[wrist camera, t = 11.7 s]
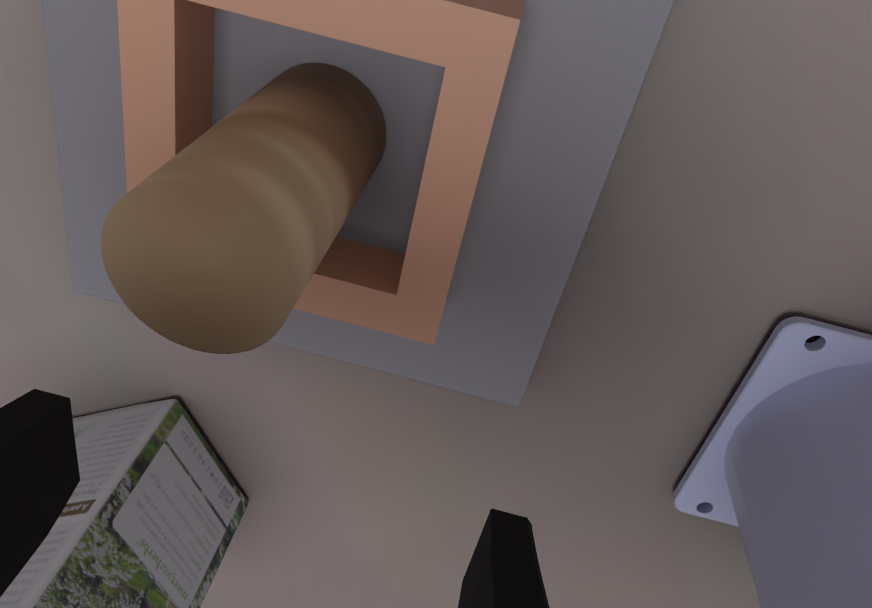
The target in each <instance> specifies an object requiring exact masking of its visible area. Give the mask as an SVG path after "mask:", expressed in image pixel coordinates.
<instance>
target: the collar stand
mask: <svg viewBox="0 0 872 608" xmlns="http://www.w3.org/2000/svg"><path fill="white" fill-rule="evenodd" d="M673 3H674V0H42V8H43V17H44V27H45V36H46V45H47V54H48V63H49V72H50V81H51V90H52V99H53V108H54V118H55V127H56V136H57V145H58V154H59V163H60V172H61V181H62V190H63V200H64V209H65V218H66V227H67V236H68V245H69V254H70V263H71V272H72V282H73V291H75V292H79V293H83V294H87V295H91V296H94V297H98V298H102V299H106V300H110V301H114V302H117V303H121V304H125V303H124V302H123V301H122V299H121V298H120V297H119V295H118V294H117V292H116V291H115V289H114V287H113V285H112V283H111V282H110V279H109V277H108V275H107V272H106V270H105V266H104V263H103V259H102V252H101V234H102V228H103V225H104V222H105V219H106V217H107V215H108V213H109V211H110V210H111V208H112V207H113V206H114V204H115V203H116V202H117V201H118V200H119V199H120V198H122V197H123V196H124V195H125V194H127V193H128V192H129V191H130V190H132V189H133V188H134V187H136V186H137V185H138V184H139V183H141V182H142V181H143V180H145V179H146V178H147V177H148V176H150V175H151V174H152V173H154V172H155V171H156V170H157V169H159V168H160V167H161V166H163V165H164V164H165V163H166V162H168V161H169V160H170V159H172V158H173V157H174V156H175V155H177V154H178V153H179V152H181V151H182V150H183V149H184V148H186V147H187V146H188V145H190V144H191V143H192V142H193V141H195V140H196V139H197V138H199V137H200V136H201V135H202V134H204V133H205V132H206V131H208V130H209V129H210V128H211V127H213V126H214V125H215V124H217V123H218V122H219V121H220V120H222V119H223V118H224V117H226V116H227V115H228V114H229V113H231V112H232V111H233V110H234V109H236V108H237V107H238V106H240V105H241V104H242V103H243V102H245V101H246V100H247V99H249V98H250V97H251V96H252V95H254V94H255V93H256V92H258V91H259V90H260V89H261V88H263V87H264V86H265V85H267V84H268V83H269V82H270V81H272V80H273V79H274V78H276V77H277V76H278V75H279V74H281V73H282V72H283V71H285V70H287V69H289V68H291V67H293V66H296V65H299V64H304V63H324V64H329V65H333V66H336V67H339V68H341V69H343V70H345V71H347V72H349V73H350V74H352V75H353V76H355V77H356V78H357V79H359V80H360V81H361V82H362V83H363V84H364V85H365V86H366V87H367V88H368V89H369V90H370V92H371V93H372V94H373V96H374V97H375V99H376V100H377V102H378V104H379V106H380V108H381V111H382V113H383V116H384V120H385V125H386V146H385V151H384V154H383V157H382V159H381V161H380V163H379V165H378V167H377V168H376V170H375V172H374V173H373V175H372V177H371V178H370V180H369V182H368V183H367V185H366V187H365V189H364V190H363V192H362V194H361V195H360V197H359V199H358V200H357V202H356V204H355V205H354V207H353V209H352V210H351V212H350V214H349V215H348V217H347V219H346V220H345V222H344V224H343V225H342V227H341V229H340V230H339V232H338V234H337V236H336V237H335V239H334V241H333V242H332V244H331V246H330V247H329V249H328V251H327V252H326V254H325V256H324V257H323V259H322V261H321V262H320V264H319V266H318V267H317V269H316V271H315V272H314V274H313V276H312V277H311V279H310V281H309V283H308V284H307V286H306V288H305V289H304V291H303V293H302V294H301V296H300V298H299V299H298V301H297V303H296V304H295V306H294V308H293V309H292V311H291V313H290V314H289V316H288V318H287V319H286V321H285V323H284V324H283V326H282V328H281V329H280V330H279V331H278V332H277V334H276V335H275V336H274V337H272V338H271V339H270V340H269V341H267V342H271V343H274V344H278V345H282V346H286V347H290V348H294V349H297V350H301V351H305V352H309V353H313V354H317V355H320V356H324V357H328V358H332V359H336V360H340V361H343V362H347V363H351V364H355V365H359V366H362V367H366V368H370V369H374V370H378V371H382V372H385V373H389V374H393V375H397V376H401V377H405V378H408V379H412V380H416V381H420V382H424V383H428V384H431V385H435V386H439V387H443V388H447V389H451V390H454V391H458V392H462V393H466V394H470V395H474V396H477V397H481V398H485V399H489V400H493V401H497V402H500V403H504V404H508V405H512V406H516V407H519V406H520V403H521V400H522V398H523V395H524V393H525V390H526V387H527V385H528V382H529V380H530V377H531V374H532V372H533V369H534V366H535V364H536V361H537V359H538V356H539V353H540V351H541V348H542V346H543V343H544V340H545V338H546V335H547V332H548V330H549V327H550V325H551V322H552V319H553V317H554V314H555V312H556V309H557V306H558V304H559V301H560V298H561V296H562V293H563V291H564V288H565V285H566V283H567V280H568V277H569V275H570V272H571V270H572V267H573V264H574V262H575V259H576V257H577V254H578V251H579V249H580V246H581V243H582V241H583V238H584V236H585V233H586V230H587V228H588V225H589V223H590V220H591V217H592V215H593V212H594V209H595V207H596V204H597V202H598V199H599V196H600V194H601V191H602V189H603V186H604V183H605V181H606V178H607V175H608V173H609V170H610V168H611V165H612V162H613V160H614V157H615V155H616V152H617V149H618V147H619V144H620V141H621V139H622V136H623V134H624V131H625V128H626V126H627V123H628V121H629V118H630V115H631V113H632V110H633V107H634V105H635V102H636V100H637V97H638V94H639V92H640V89H641V87H642V84H643V81H644V79H645V76H646V73H647V71H648V68H649V66H650V63H651V60H652V58H653V55H654V53H655V50H656V47H657V45H658V42H659V39H660V37H661V34H662V32H663V29H664V26H665V24H666V21H667V19H668V16H669V13H670V11H671V8H672V5H673ZM125 305H126V304H125Z"/></svg>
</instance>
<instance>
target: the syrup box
mask: <svg viewBox="0 0 872 608" xmlns="http://www.w3.org/2000/svg"><path fill="white" fill-rule="evenodd" d="M73 427H74V435H75V443H76V451H77V459H78V466H79V474H80V481H79V483H78V485H77V487H76V488H75V490H74V492H73V494H72V495H71V497H70V499H69V501H68V502H67V504H66V506H65V507H64V509H63V511H62V513H61V514H60V516H59V517H58V519H57V521H56V522H55V524H54V526H53V527H52V529H51V530H50V532H49V534H48V535H47V537H46V538H45V539H44V541H43V542H42V543H41V545H40V546H39V548H38V549H37V550H36V552H35V553H34V554H33V555H32V557H31V558H30V559H29V561H28V562H27V563H26V565H25V566H24V567H23V569H22V570H21V571H20V573H19V574H18V575H17V576H16V578H15V579H14V580H13V582H12V583H11V584H10V586H9V587H8V588H7V589H6V591H5V592H4V593H3V595H2V596H1V597H0V608H200V606H201V604H202V602H203V600H204V598H205V596H206V594H207V591H208V589H209V587H210V585H211V583H212V581H213V579H214V577H215V575H216V572H217V570H218V568H219V565H220V563H221V561H222V559H223V557H224V555H225V552H226V550H227V548H228V545H229V543H230V541H231V540H232V537H233V535H234V534H235V531H236V529H237V527H238V525H239V523H240V521H241V518H242V516H243V514H244V512H245V510H246V507H247V505H248V502H247V500H246V499H245V497H244V496H243V494H242V493H241V491H240V490H239V488H238V487H237V485H236V484H235V483H234V481H233V480H232V478H231V477H230V475H229V474H228V472H227V471H226V470H225V468H224V467H223V465H222V464H221V462H220V461H219V459H218V458H217V456H216V455H215V454H214V452H213V450H212V449H211V447H210V446H209V444H208V443H207V442H206V440H205V439H204V437H203V436H202V435H201V433H200V432H199V430H198V428H197V427H196V425H195V424H194V422H193V421H192V419H191V418H190V416H189V415H188V413H187V412H186V411H185V409H184V408H183V406H182V405H181V404H180V402H179V401H178V400H177V399H168V400H162V401H155V402H150V403H144V404H138V405H133V406H129V407H124V408H119V409H115V410H110V411H105V412H100V413H96V414H91V415H87V416H82V417H77V418H73Z"/></svg>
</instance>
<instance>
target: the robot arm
mask: <svg viewBox="0 0 872 608" xmlns="http://www.w3.org/2000/svg"><path fill="white" fill-rule="evenodd" d="M812 336H820V338H819V339H818V340H817V341H814V342H812V343H805V341H806V340H807V339H808V338H809V337H812ZM79 481H80V474H79V466H78V459H77V451H76V443H75V435H74V427H73V419H72V411H71V404H70V398H67V397H64V396H60V395H56V394H52V393H48V392H44V391H41V390H37V389H33V390H32V391H30V392H28V393H26V394H24V395H23V396H21V397H19V398H17V399H16V400H14V401H12V402H10V403H8V404H7V405H5V406H3V407H2V408H0V597H1V596H2V595H3V593H4V592H5V591H6V589H7V588H8V587H9V586H10V584H11V583H12V582H13V580H14V579H15V578H16V576H17V575H18V574H19V573H20V571H21V570H22V569H23V567H24V566H25V565H26V563H27V562H28V561H29V559H30V558H31V557H32V555H33V554H34V553H35V552H36V550H37V549H38V548H39V546H40V545H41V543H42V542H43V541H44V539H45V538H46V537H47V535H48V534H49V532H50V530H51V529H52V527H53V526H54V524H55V522H56V521H57V519H58V517H59V516H60V514H61V513H62V511H63V509H64V507H65V506H66V504H67V502H68V501H69V499H70V497H71V495H72V494H73V492H74V490H75V488H76V487H77V485H78V483H79ZM673 501H674V505H675V507H676V508H677V509H678V510H679V511H681V512H684V513H688V514H691V515H695V516H699V517H703V518H707V519H711V520H714V521H718V522H722V523H726V524H730V525H734V526H737V527H739V529H740V533H741V536H742V540H743V543H744V547H745V551H746V554H747V558H748V561H749V565H750V569H751V572H752V576H753V580H754V583H755V587H756V590H757V594H758V598H759V601H760V605H761V608H872V335H870V334H866V333H862V332H858V331H854V330H850V329H847V328H843V327H839V326H835V325H831V324H827V323H824V322H820V321H816V320H812V319H808V318H804V317H796V316H795V317H790V318H786V319H785V320H783V321H781V322H780V323H779V324H778V325H777V326H776V327H775V329H774V331H773V332H772V334H771V335H770V337H769V339H768V340H767V342H766V344H765V345H764V347H763V348H762V350H761V352H760V353H759V355H758V356H757V358H756V360H755V361H754V363H753V365H752V366H751V368H750V369H749V371H748V373H747V374H746V376H745V378H744V379H743V381H742V382H741V384H740V386H739V387H738V389H737V390H736V392H735V394H734V395H733V397H732V399H731V400H730V402H729V403H728V405H727V407H726V408H725V410H724V411H723V413H722V415H721V416H720V418H719V420H718V421H717V423H716V424H715V426H714V428H713V429H712V431H711V433H710V434H709V436H708V437H707V439H706V441H705V442H704V444H703V445H702V447H701V449H700V450H699V452H698V454H697V455H696V457H695V458H694V460H693V462H692V463H691V465H690V467H689V468H688V470H687V471H686V473H685V475H684V476H683V478H682V479H681V481H680V483H679V484H678V486H677V488H676V489H675V491H674V493H673ZM703 502H707V503H705V504H700V503H703ZM458 608H549V604H548V600H547V596H546V592H545V588H544V584H543V580H542V576H541V572H540V567H539V563H538V558H537V553H536V548H535V543H534V537H533V531H532V525H531V523H530V521H529V520H528V518H526V517H522V516H518V515H514V514H510V513H507V512H503V511H499V510H495V509H491V510H490V513H489V516H488V518H487V521H486V523H485V526H484V528H483V531H482V533H481V536H480V538H479V541H478V543H477V546H476V548H475V551H474V553H473V556H472V558H471V561H470V563H469V566H468V568H467V571H466V574H465V576H464V579H463V582H462V588H461V593H460V599H459V605H458Z"/></svg>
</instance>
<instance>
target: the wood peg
mask: <svg viewBox="0 0 872 608" xmlns="http://www.w3.org/2000/svg"><path fill="white" fill-rule="evenodd" d="M385 146H386V125H385V120H384V116H383V113H382V111H381V108H380V106H379V104H378V102H377V100H376V99H375V97H374V96H373V94H372V93H371V92H370V90H369V89H368V88H367V87H366V86H365V85H364V84H363V83H362V82H361V81H360V80H359V79H357V78H356V77H355V76H353V75H352V74H350V73H349V72H347V71H345V70H343V69H341V68H339V67H336V66H333V65H329V64H324V63H304V64H299V65H296V66H293V67H291V68H289V69H287V70H285V71H283V72H282V73H281V74H279V75H278V76H277V77H276V78H274V79H273V80H272V81H270V82H269V83H268V84H267V85H265V86H264V87H263V88H261V89H260V90H259V91H258V92H256V93H255V94H254V95H252V96H251V97H250V98H249V99H247V100H246V101H245V102H243V103H242V104H241V105H240V106H238V107H237V108H236V109H234V110H233V111H232V112H231V113H229V114H228V115H227V116H226V117H224V118H223V119H222V120H220V121H219V122H218V123H217V124H215V125H214V126H213V127H211V128H210V129H209V130H208V131H206V132H205V133H204V134H202V135H201V136H200V137H199V138H197V139H196V140H195V141H193V142H192V143H191V144H190V145H188V146H187V147H186V148H184V149H183V150H182V151H181V152H179V153H178V154H177V155H175V156H174V157H173V158H172V159H170V160H169V161H168V162H166V163H165V164H164V165H163V166H161V167H160V168H159V169H157V170H156V171H155V172H154V173H152V174H151V175H150V176H148V177H147V178H146V179H145V180H143V181H142V182H141V183H139V184H138V185H137V186H136V187H134V188H133V189H132V190H130V191H129V192H128V193H127V194H125V195H124V196H123V197H122V198H120V199H119V200H118V201H117V202H116V203H115V204H114V206H113V207H112V208H111V210H110V211H109V213H108V215H107V217H106V219H105V222H104V225H103V228H102V234H101V252H102V259H103V263H104V266H105V270H106V272H107V275H108V277H109V279H110V282H111V283H112V285H113V287H114V289H115V291H116V292H117V294H118V295H119V297H120V298H121V299H122V301H123V302H124V303H125V304H126V306H127V307H128V308H129V309H130V310H131V311H132V312H133V313H134V314H135V315H136V316H137V317H138V318H139V319H140V320H141V321H142V322H144V323H145V324H146V325H147V326H148V327H150V328H151V329H153V330H154V331H156V332H157V333H159V334H160V335H162V336H164V337H165V338H167V339H169V340H171V341H173V342H175V343H178V344H180V345H182V346H185V347H188V348H191V349H194V350H198V351H203V352H208V353H216V354H231V353H240V352H244V351H249V350H251V349H254V348H257V347H259V346H261V345H262V344H264V343H266V342H267V341H269V340H270V339H271V338H272V337H274V336H275V335H276V334H277V332H278V331H279V330H280V329H281V328H282V326H283V324H284V323H285V321H286V319H287V318H288V316H289V314H290V313H291V311H292V309H293V308H294V306H295V304H296V303H297V301H298V299H299V298H300V296H301V294H302V293H303V291H304V289H305V288H306V286H307V284H308V283H309V281H310V279H311V277H312V276H313V274H314V272H315V271H316V269H317V267H318V266H319V264H320V262H321V261H322V259H323V257H324V256H325V254H326V252H327V251H328V249H329V247H330V246H331V244H332V242H333V241H334V239H335V237H336V236H337V234H338V232H339V230H340V229H341V227H342V225H343V224H344V222H345V220H346V219H347V217H348V215H349V214H350V212H351V210H352V209H353V207H354V205H355V204H356V202H357V200H358V199H359V197H360V195H361V194H362V192H363V190H364V189H365V187H366V185H367V183H368V182H369V180H370V178H371V177H372V175H373V173H374V172H375V170H376V168H377V167H378V165H379V163H380V161H381V159H382V157H383V154H384V151H385Z"/></svg>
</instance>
